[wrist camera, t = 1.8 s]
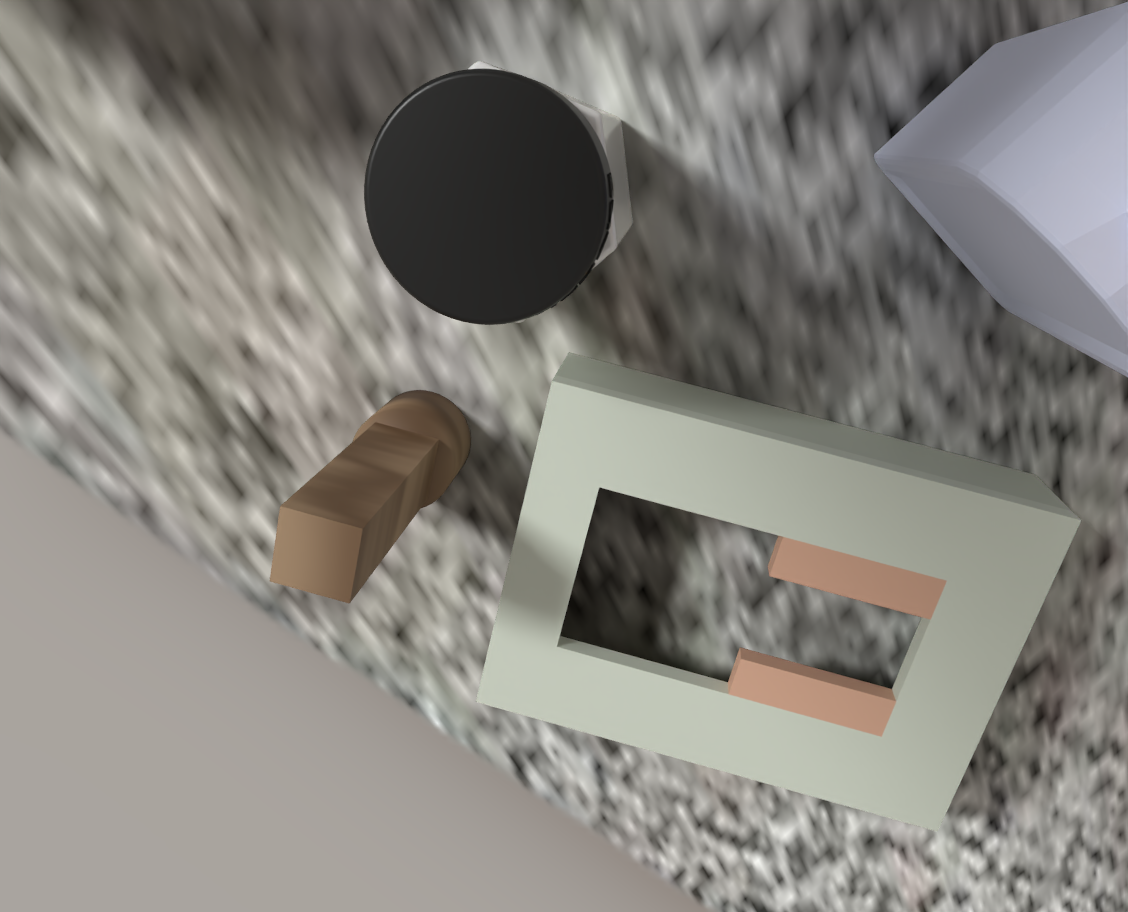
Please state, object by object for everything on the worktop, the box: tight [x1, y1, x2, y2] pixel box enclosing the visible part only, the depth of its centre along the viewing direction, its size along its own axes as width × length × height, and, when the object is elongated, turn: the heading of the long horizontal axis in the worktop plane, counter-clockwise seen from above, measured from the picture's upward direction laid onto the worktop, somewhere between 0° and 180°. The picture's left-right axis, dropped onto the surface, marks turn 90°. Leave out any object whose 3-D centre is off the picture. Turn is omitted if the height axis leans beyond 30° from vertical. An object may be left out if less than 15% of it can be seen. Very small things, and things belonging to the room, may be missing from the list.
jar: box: [364, 61, 633, 325], centre depth 36 cm, size 9×8×12 cm
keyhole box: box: [476, 353, 1081, 832], centre depth 44 cm, size 22×16×6 cm
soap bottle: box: [874, 2, 1128, 377], centre depth 29 cm, size 9×7×23 cm
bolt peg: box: [270, 390, 471, 603], centre depth 40 cm, size 5×5×14 cm
